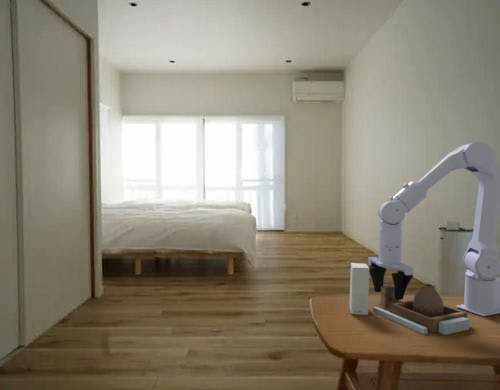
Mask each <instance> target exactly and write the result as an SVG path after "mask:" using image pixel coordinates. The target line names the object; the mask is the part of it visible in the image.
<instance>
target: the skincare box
mask: <svg viewBox="0 0 500 390" xmlns="http://www.w3.org/2000/svg"><path fill="white" fill-rule="evenodd" d="M349 273H350V277H349V278H350V279H349V302H348V303H349V305H348V307H349V310H350V314H351V315H361V316H368V315H369V299H370V298H369V294H370V293H369V291H370V289H369V288H370V273H369V267H368V264H367V263H359V262H350V272H349Z"/></svg>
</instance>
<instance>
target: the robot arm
mask: <svg viewBox="0 0 500 390" xmlns="http://www.w3.org/2000/svg"><path fill="white" fill-rule="evenodd" d="M462 169H465V170H467V171H469V172H471V174H473V176H475V177H476V178H477V180H478V191H477V196H476V197H477V198H476V206H475V215H474V223H473V230H472V238H471V240H470V241H469V243H467V249H466V251H465V252H464V254H463V256H462V264H463V266H464V267H465V269H466V270H465V271H466V272H465V273H464V275H465V276H464V298H463V299H464V300H463V304H457V305H456V309H457V308H458V309H459V310H462V311H465V312H466V311H467V312H469V313H472V314H475V315H478V316H481V317H488V316H493V315H498V314H500V277H498V276H500V248H499V247H498V245H497V243H496V240H497V233H498V223H499V217H500V216H499V215H500V162H499V160H498V157H497V150H496V149H494V148H493V147H492V146H491V145H490V144H488V143H486V142H485V141H480V140H479V141H477V140H476V141H473V142H471V143H464V144H461V145H459V146H458V147H456V148H455V150H452V151H451V152H449V153H448V154H447V155H446V156H444V157H443V158H441V160H440V161H439V162H437V163H436V164H435V165H434V166H433V167H432V168H431V169H430V170H428V172H427V173H426V174H425V175H423V176H422V177H421V178H420V179H419V180H418V181H409V182H408V183H407V182H405V183H403V184H402V188H401V189H400V190H399V191H398V192H396V194H395V195H393V196H392V195H390V196H389V198H388V200H389V201H386V202H383V203H382V204H381V205H380V206H379V209H378V211H377V214H378V216H379V218H380V222H379V235H378V236H379V238H378V241H379V242H378V257H377V256H368V260H367V262H368V264H367V266H368V265H369V266H368V267H369V276H370V278H371V281H372V285H373V289H374V292H375V293H381V287H382V286H384V279H385V275H386V271H387V269H388V270H390V271H391V270H392V271H394V272H393V273H391V278H392V281H393V286H394V288H395V300H400V301H402V300H403V298H404V295H405V293H406V289H407V287H408V286H409V284H410V281H411V280H412V279H413V278H414V267H413V266H410V265H407V264H405V263H404V262H402V240H403V239H402V237H403V236H402V235H403V230H402V223H403V221H404V220H405V217H406V214H407V213H409V212H411V211H412V210H414V208H415V207H417V206H418V205H419V204H420V203H422V201H424V200H425V199H426V198H427V193H428V190H429V189H431V187H433V186H435V185H436V184H437V183H439V182H440V181H441V180H442V179H443V178H445V177H446V176H448V174H450V173H452V172H453V171H456V170H462Z"/></svg>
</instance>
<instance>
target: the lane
mask: <svg viewBox="0 0 500 390" xmlns="http://www.w3.org/2000/svg"><path fill="white" fill-rule="evenodd" d="M372 312H373V313H374V314H377V315H378V316H382V317H384V318H386V319H389V320H390V321H393V322H394V323H397V324H399V325H402V326H404V327H406V328H409V329H410V330H413V331H415V332H417V333H419V334H422V335H427V334H428V332H427V330H428V328H426V327H424V326H421V325H419V324H417V323H414V322H412V321H409V320H407V319H405V318H402V317H400V316H398V315H395V314H393V313H391V311H387V310H386V309H383V308H381V307H379V306H373V307H372ZM469 330H470V318H468V317H467V318H465V317H461V318H456V319H450V320H445V321H440V322H439V331H438V333H440V334H441V335H443V336H446V335H450V334H455V333H459V332H464V331H469Z"/></svg>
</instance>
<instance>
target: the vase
mask: <svg viewBox="0 0 500 390" xmlns="http://www.w3.org/2000/svg"><path fill="white" fill-rule="evenodd" d="M412 301H413V311H415V312H417V313H420V314H422V315H425V316H427V317H430V318H431V317H436V316H441V315H443V311H444V305H445V304H444V301H443V298H442V296H441V295H440V293H439V292H438V290H437V289H436V288H435V285H434V284H432V283H423V284H422V287H421V288H420V289H419V290H418V291H417V292H416V293H415V294H414V297H413V300H412Z"/></svg>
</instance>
